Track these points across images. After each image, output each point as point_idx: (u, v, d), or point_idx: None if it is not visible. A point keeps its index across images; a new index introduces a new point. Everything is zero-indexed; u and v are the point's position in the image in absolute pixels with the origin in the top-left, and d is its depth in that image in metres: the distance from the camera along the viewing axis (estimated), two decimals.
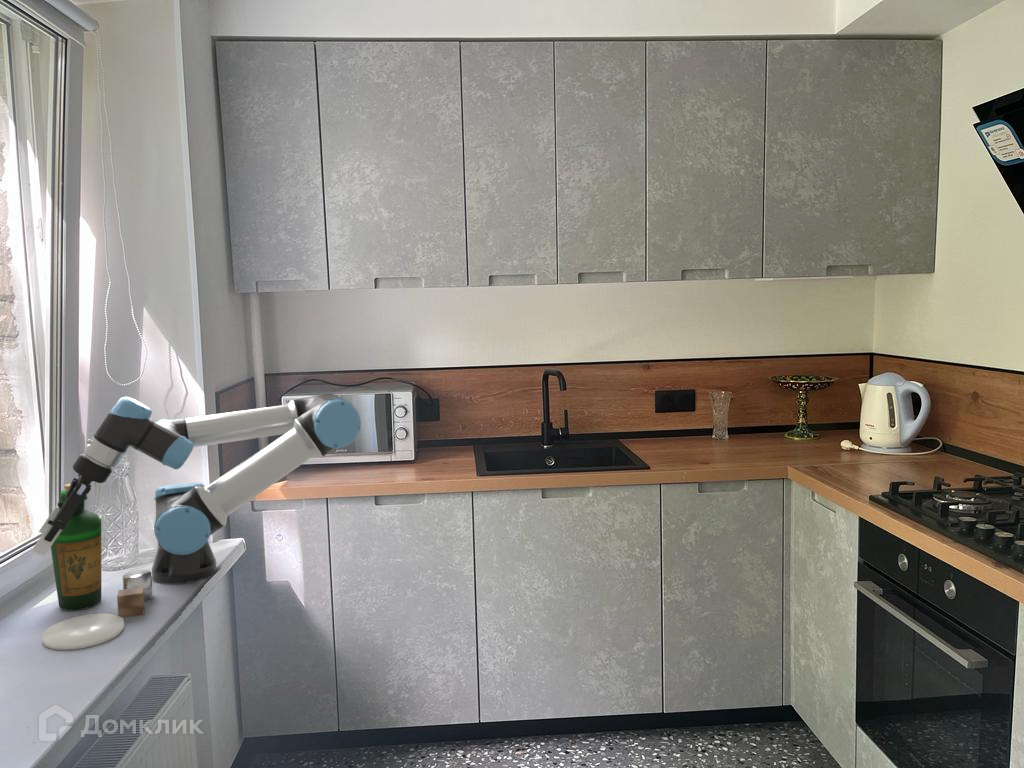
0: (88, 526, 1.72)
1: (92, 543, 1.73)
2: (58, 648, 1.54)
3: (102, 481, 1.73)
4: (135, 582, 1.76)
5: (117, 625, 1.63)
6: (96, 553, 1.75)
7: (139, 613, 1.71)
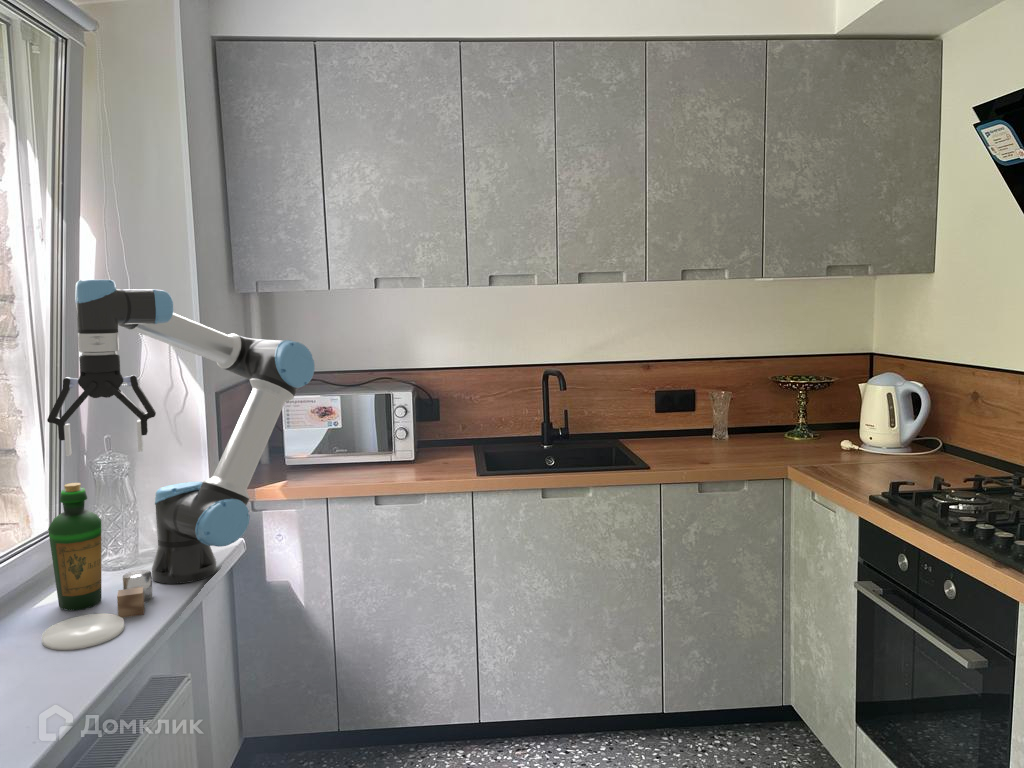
0: (88, 526, 1.72)
1: (92, 543, 1.73)
2: (58, 648, 1.54)
3: None
4: (135, 582, 1.76)
5: (117, 625, 1.63)
6: (96, 553, 1.75)
7: (139, 613, 1.71)
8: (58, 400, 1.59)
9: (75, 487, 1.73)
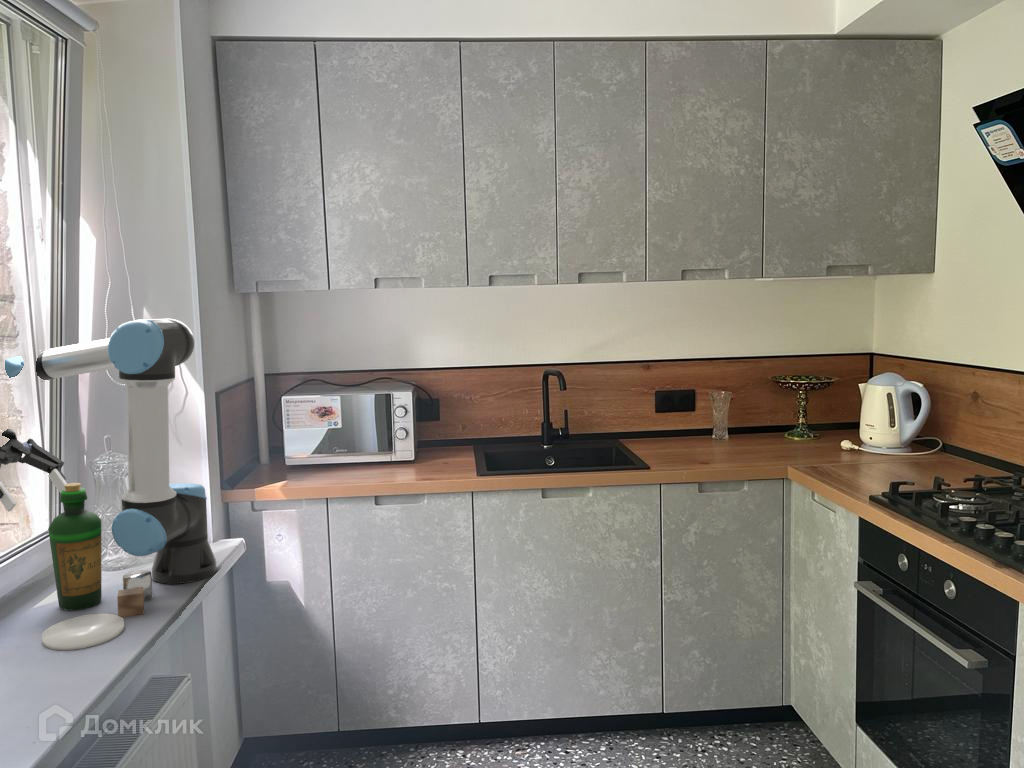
0: (88, 526, 1.72)
1: (92, 543, 1.73)
2: (58, 648, 1.54)
3: None
4: (135, 582, 1.76)
5: (117, 625, 1.63)
6: (96, 553, 1.75)
7: (139, 613, 1.71)
8: None
9: (75, 487, 1.73)
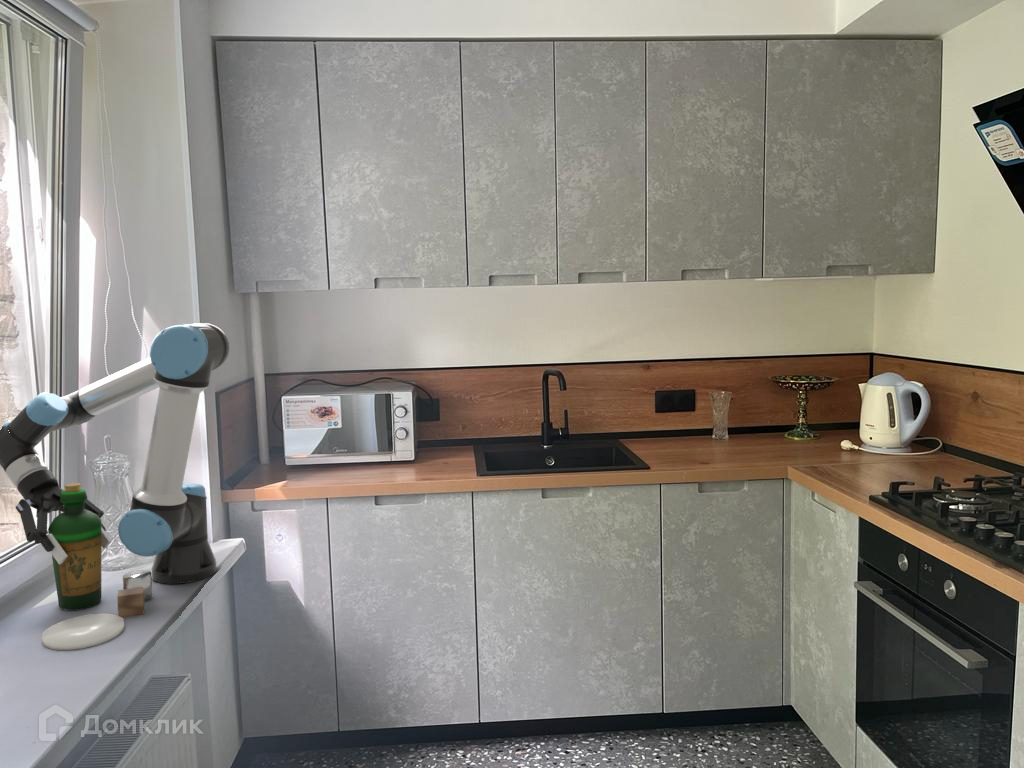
0: (88, 526, 1.72)
1: (92, 543, 1.73)
2: (58, 648, 1.54)
3: None
4: (135, 582, 1.76)
5: (117, 625, 1.63)
6: (96, 553, 1.75)
7: (139, 613, 1.71)
8: (28, 516, 1.69)
9: (75, 487, 1.73)
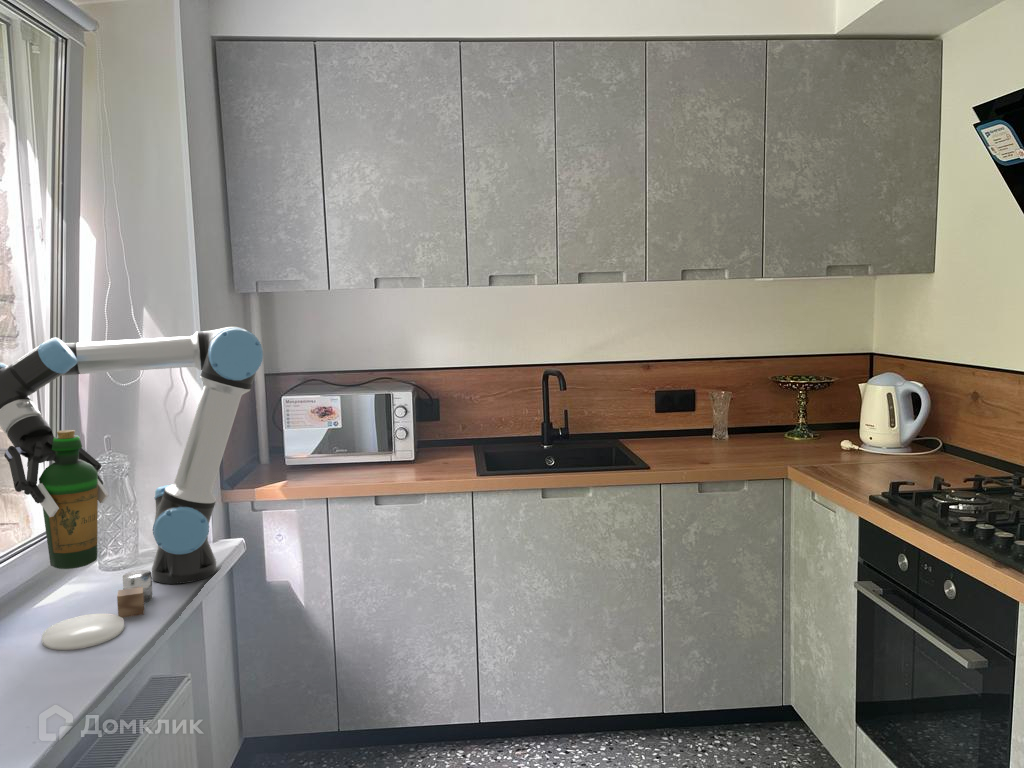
0: (82, 477, 1.57)
1: (86, 496, 1.58)
2: (58, 648, 1.54)
3: None
4: (135, 582, 1.76)
5: (117, 625, 1.63)
6: (91, 507, 1.59)
7: (139, 613, 1.71)
8: (17, 464, 1.54)
9: (68, 434, 1.57)
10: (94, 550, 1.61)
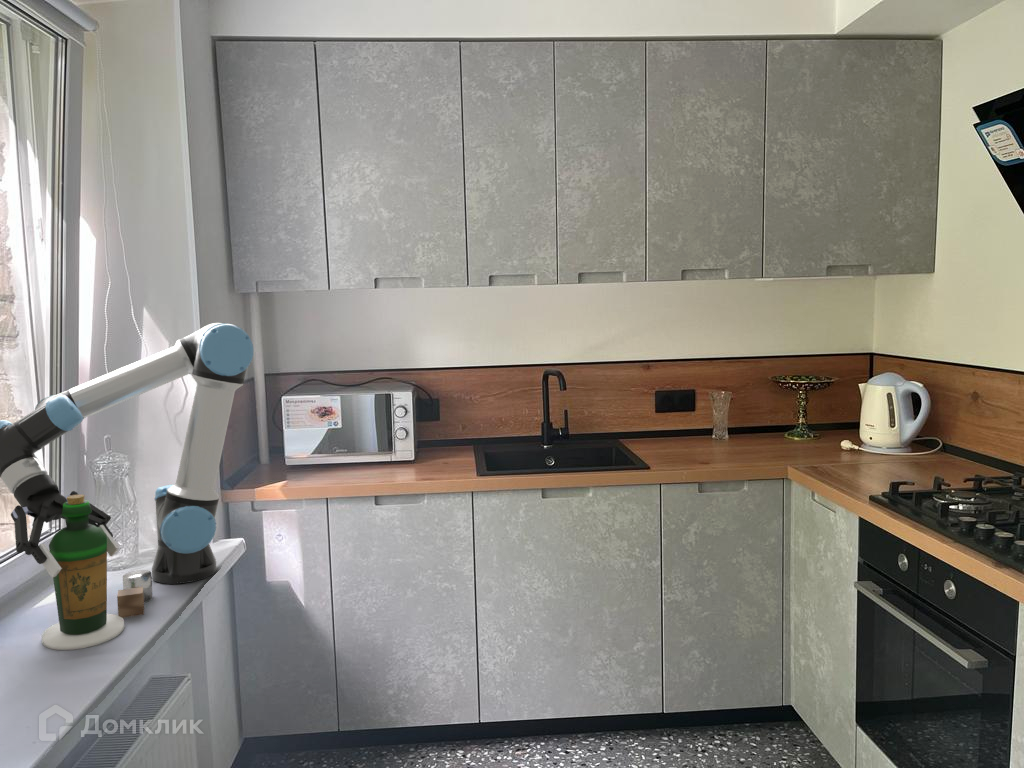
0: (93, 542, 1.57)
1: (97, 561, 1.58)
2: (58, 648, 1.54)
3: None
4: (135, 582, 1.76)
5: (117, 625, 1.63)
6: (101, 572, 1.59)
7: (139, 613, 1.71)
8: (22, 525, 1.53)
9: (79, 500, 1.57)
10: (104, 614, 1.61)
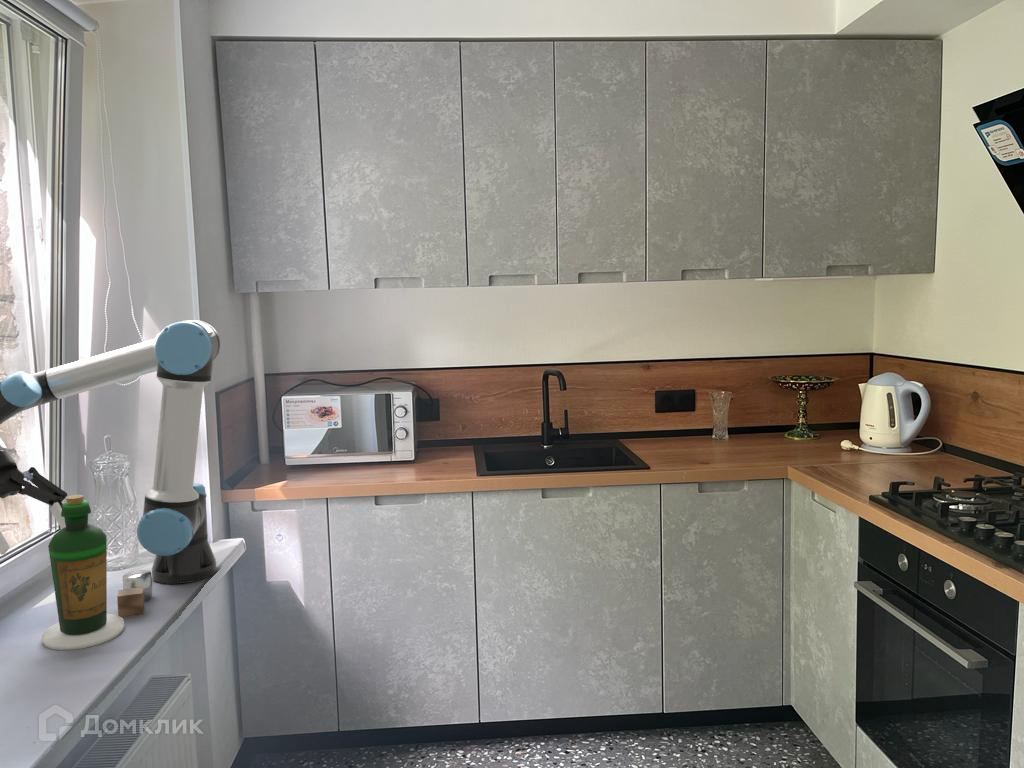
0: (92, 543, 1.57)
1: (96, 562, 1.58)
2: (58, 648, 1.54)
3: None
4: (135, 582, 1.76)
5: (117, 625, 1.63)
6: (101, 572, 1.59)
7: (139, 613, 1.71)
8: None
9: (78, 500, 1.57)
10: (104, 614, 1.61)
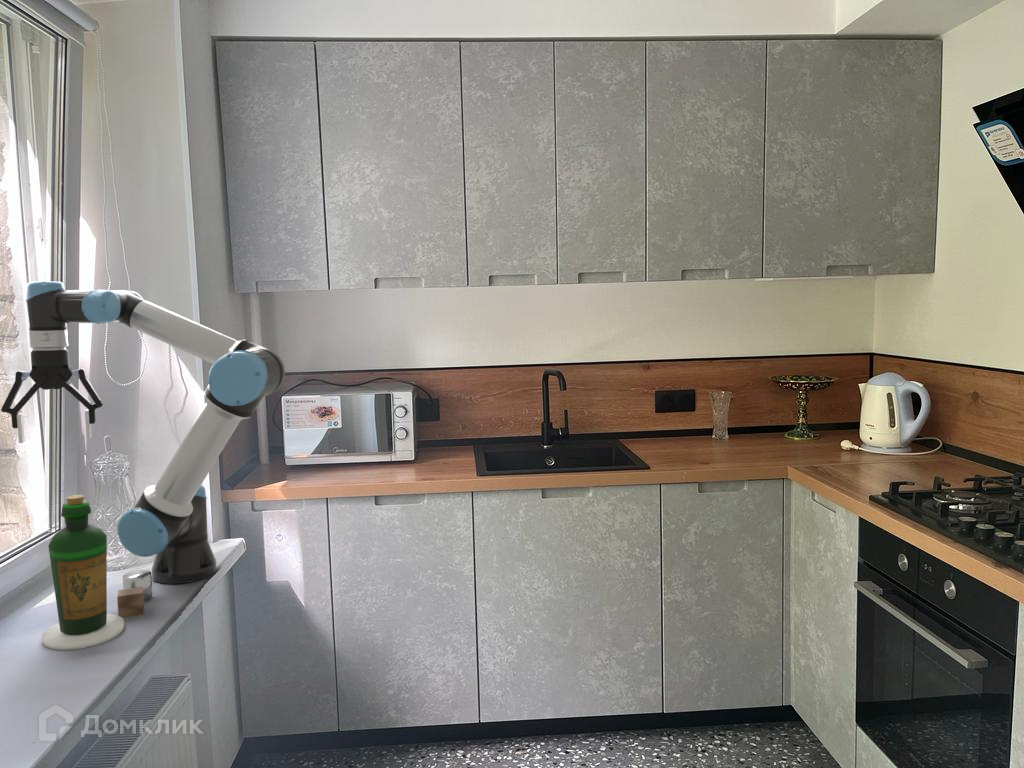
0: (92, 543, 1.57)
1: (97, 562, 1.58)
2: (58, 648, 1.54)
3: None
4: (135, 582, 1.76)
5: (117, 625, 1.63)
6: (101, 572, 1.59)
7: (139, 613, 1.71)
8: (11, 391, 1.75)
9: (78, 500, 1.57)
10: (104, 614, 1.61)
